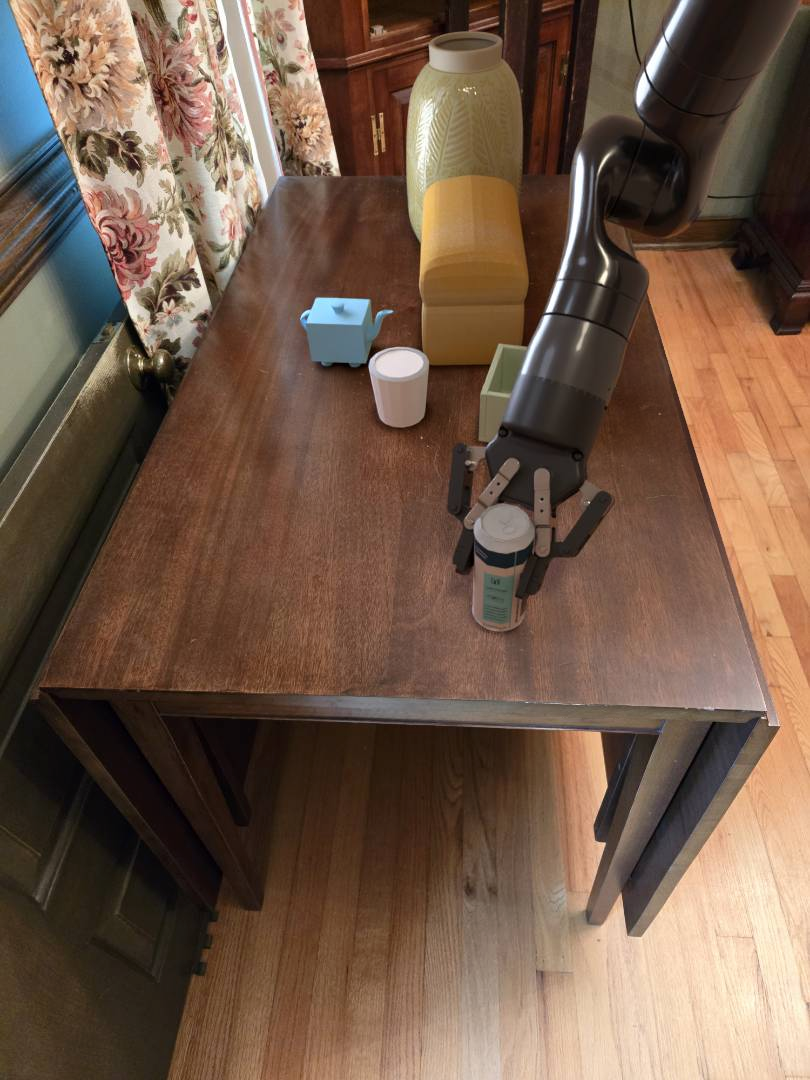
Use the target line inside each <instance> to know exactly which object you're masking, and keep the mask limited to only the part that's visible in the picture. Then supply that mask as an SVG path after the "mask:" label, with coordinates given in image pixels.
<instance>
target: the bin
mask: <svg viewBox="0 0 810 1080" xmlns="http://www.w3.org/2000/svg"><path fill="white" fill-rule="evenodd" d="M527 348H528V346H524V345H522V346H516V345H508V344H500V343H499V345H498V348H497V350H496V353H495V356H494V358H493V361H492V364H490V366H489V369H488V372H487V374H486V378H485V381H484V383H483V386H482V388H481V391H480V395H479V419H478V420H479V421H478V441H479V442H483V443H490V442H491V441H492V440H493V439H494V438H495V437H496V435H497V433H498V430H499V427H500V424H501V421H502V418H503V415H504V412H505V410H506V407H507V404H508V401H509V398H510V396H511V393H512V390H513V387H514V384H515V381H516V378H517V376H518V373H519V370H520V367H521V364H522V362H523V359H524V356H525V353H526V350H527Z"/></svg>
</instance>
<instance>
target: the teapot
mask: <svg viewBox="0 0 810 1080" xmlns="http://www.w3.org/2000/svg"><path fill="white" fill-rule="evenodd" d="M393 313H394V310H392V309H383V310H381V311H379V312H378V313H377V314H376V316H375V318H374V322H373V313H372V300H371V299H369V298H347V297H346V298H344V297H342V298H340V297H316V298H315V299H314V302H313V304H312V307H311V309H307V310H305V311H304V312H303V313H302V314H301V317H300V324H301V326H302V327H303V329H304V330H305V331H306V336H307V341H308V347H309V354H310V360H311V362H319V363H320V362H321V365H322V366H325V367H329V366H332V365H333V364H334V363H344V364H347V363H348V365H349V366H350V367H351V368H358V367H360V366H361V364H367V361H368V358H369V354H370V350H371V348H372V344H373V341H374V340H376V338H377V337H378V336H379V333H380V331H381V327H382V323H383V321H384V319H385V317H387V316H388V315H390V314H393ZM306 317H307V319H306Z"/></svg>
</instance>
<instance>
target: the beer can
mask: <svg viewBox="0 0 810 1080" xmlns="http://www.w3.org/2000/svg"><path fill="white" fill-rule="evenodd" d="M534 544H535V526H534V522H533V521H532V519H531V518H530V516H529V514H527V512H526V511H524V510H523V509H521V508H520V507H519V506H518V505H515V504H514V505H513V504H508V503H506V504H503V503H502V504H498V505H495V506H491V507H488V508H487V509H486V510H485V511H484V512H483V513H482V515H481V516H480V517H479V518H478V519H477V520H476V522H475V525H474V565H473V568H472V574H473V575H472V605H471V614H472V616H473V618H474V620H475V621H476V623H478V625H480V626H481V627H483V628H484V629H486V630H489V631H494V632H507V631H510V630H513V629H515V628H516V627H518V626H520V624H522V622H523V620H524V619H525V616H526V614H527V613H526V612H527V603H528V599H526V600H521V599H519V598H516V597H515V593H516V590H517V588H518V585H519V582H520V579H521V577H522V574H523V571H524V569H525V566H526V563H527V560H528V558H529V555H530V554H533V553H534V551H533V550H534Z"/></svg>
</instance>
